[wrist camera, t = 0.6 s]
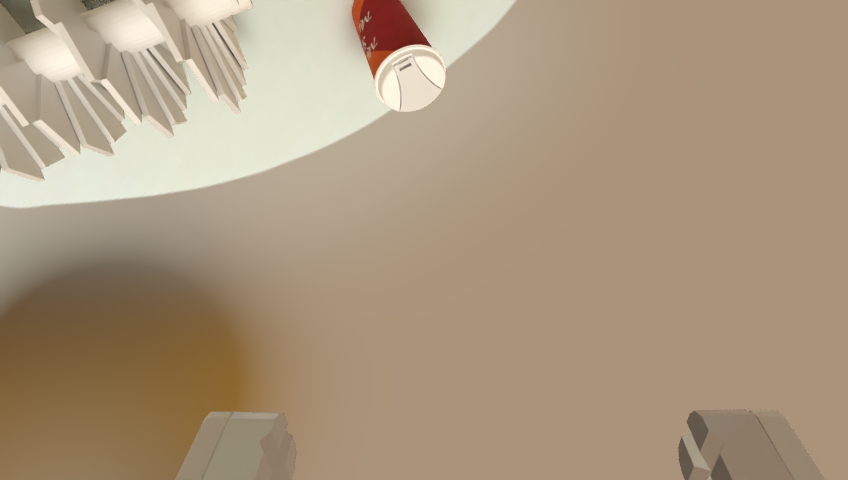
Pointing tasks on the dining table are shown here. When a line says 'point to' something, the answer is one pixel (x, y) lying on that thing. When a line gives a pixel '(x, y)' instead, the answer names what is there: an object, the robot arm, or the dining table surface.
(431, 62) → the paper cup
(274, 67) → the dining table surface
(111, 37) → the spiral staircase
